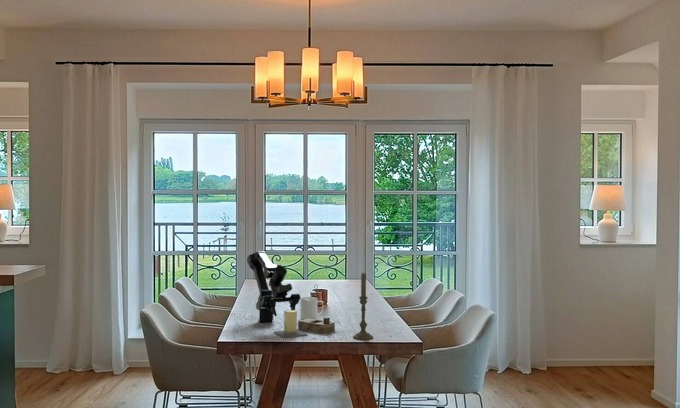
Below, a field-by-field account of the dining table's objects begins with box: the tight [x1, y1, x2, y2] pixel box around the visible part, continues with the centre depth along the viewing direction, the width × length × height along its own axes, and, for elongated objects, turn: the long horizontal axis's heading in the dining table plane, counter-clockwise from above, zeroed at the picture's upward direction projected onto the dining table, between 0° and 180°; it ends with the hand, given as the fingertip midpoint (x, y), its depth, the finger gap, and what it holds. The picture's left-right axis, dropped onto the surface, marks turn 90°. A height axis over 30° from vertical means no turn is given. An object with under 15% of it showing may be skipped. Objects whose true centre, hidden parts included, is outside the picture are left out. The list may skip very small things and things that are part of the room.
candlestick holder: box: [352, 271, 374, 341], centre depth 277 cm, size 9×9×30 cm
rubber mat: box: [273, 328, 308, 339], centre depth 284 cm, size 12×12×1 cm
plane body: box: [297, 316, 336, 335], centre depth 293 cm, size 16×8×6 cm, turn 54°
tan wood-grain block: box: [283, 310, 298, 334], centre depth 284 cm, size 3×5×10 cm, turn 117°
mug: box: [299, 296, 324, 320], centre depth 318 cm, size 12×9×11 cm
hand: (285, 314), depth 289 cm, fingers open, 9 cm apart
